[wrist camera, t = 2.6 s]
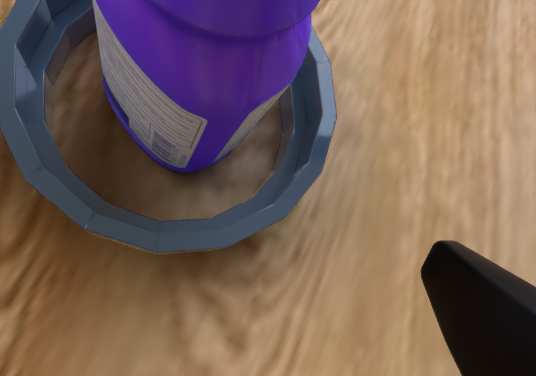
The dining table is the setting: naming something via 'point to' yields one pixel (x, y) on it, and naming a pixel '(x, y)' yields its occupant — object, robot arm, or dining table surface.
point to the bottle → (198, 70)
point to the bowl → (118, 219)
